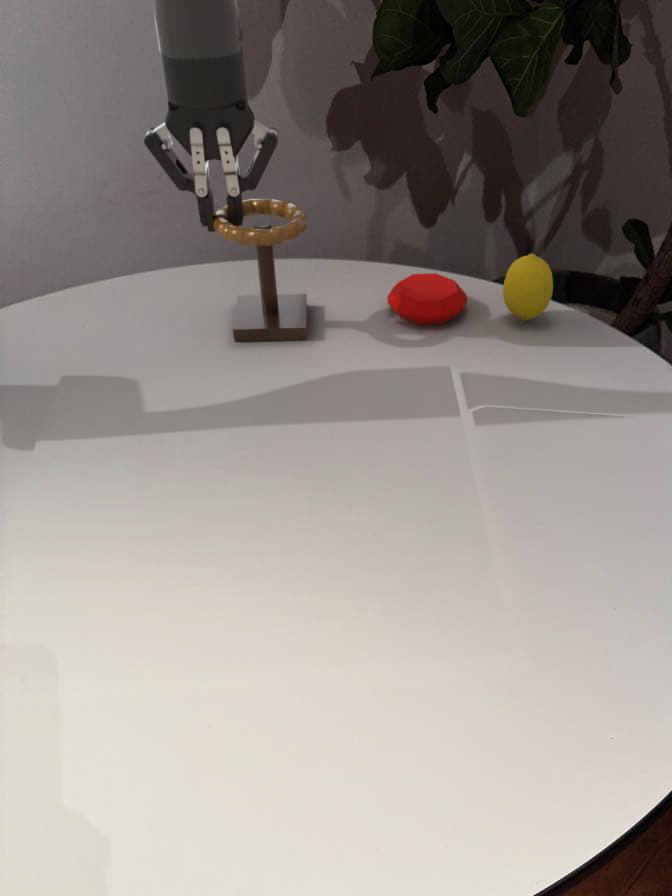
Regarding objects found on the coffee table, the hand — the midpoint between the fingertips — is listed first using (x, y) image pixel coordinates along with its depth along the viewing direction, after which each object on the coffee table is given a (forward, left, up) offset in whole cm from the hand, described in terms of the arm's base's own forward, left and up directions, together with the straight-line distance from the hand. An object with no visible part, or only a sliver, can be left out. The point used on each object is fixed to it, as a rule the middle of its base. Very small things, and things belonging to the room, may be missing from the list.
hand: (223, 228), depth 92 cm
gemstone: (+22, +2, -11) cm, 25 cm away
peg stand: (+4, 0, -11) cm, 12 cm away
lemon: (+33, -1, -11) cm, 35 cm away
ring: (+4, 0, +1) cm, 4 cm away
